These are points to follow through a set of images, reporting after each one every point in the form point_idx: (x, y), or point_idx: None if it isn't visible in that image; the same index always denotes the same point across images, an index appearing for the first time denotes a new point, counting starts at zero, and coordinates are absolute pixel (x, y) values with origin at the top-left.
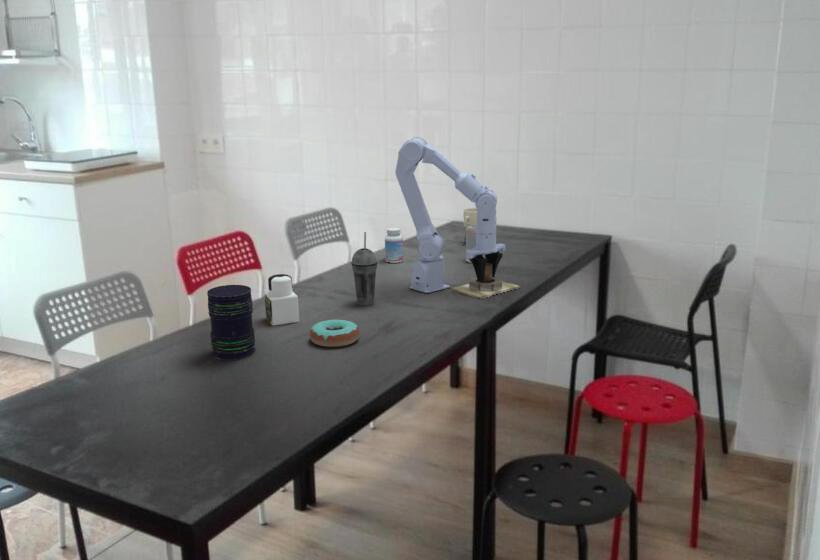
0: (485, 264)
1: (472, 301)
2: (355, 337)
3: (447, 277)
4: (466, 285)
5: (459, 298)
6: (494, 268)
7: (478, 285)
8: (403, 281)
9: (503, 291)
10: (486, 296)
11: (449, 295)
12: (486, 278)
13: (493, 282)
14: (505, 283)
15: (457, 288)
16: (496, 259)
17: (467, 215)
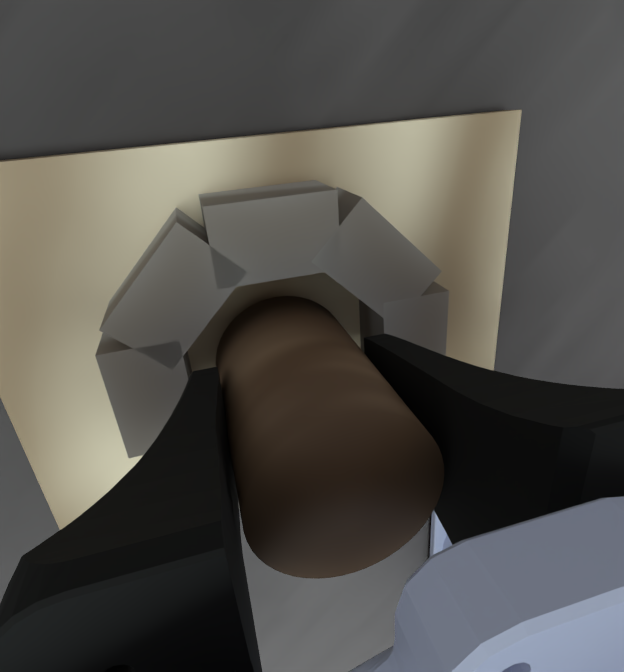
0: (490, 402)
1: (589, 112)
2: None
3: (283, 661)
4: None
5: (579, 247)
6: (216, 417)
7: (441, 286)
8: None
9: (205, 140)
10: (449, 117)
11: (561, 346)
12: (341, 335)
13: (278, 265)
14: (17, 345)
15: None
16: (220, 497)
17: None
